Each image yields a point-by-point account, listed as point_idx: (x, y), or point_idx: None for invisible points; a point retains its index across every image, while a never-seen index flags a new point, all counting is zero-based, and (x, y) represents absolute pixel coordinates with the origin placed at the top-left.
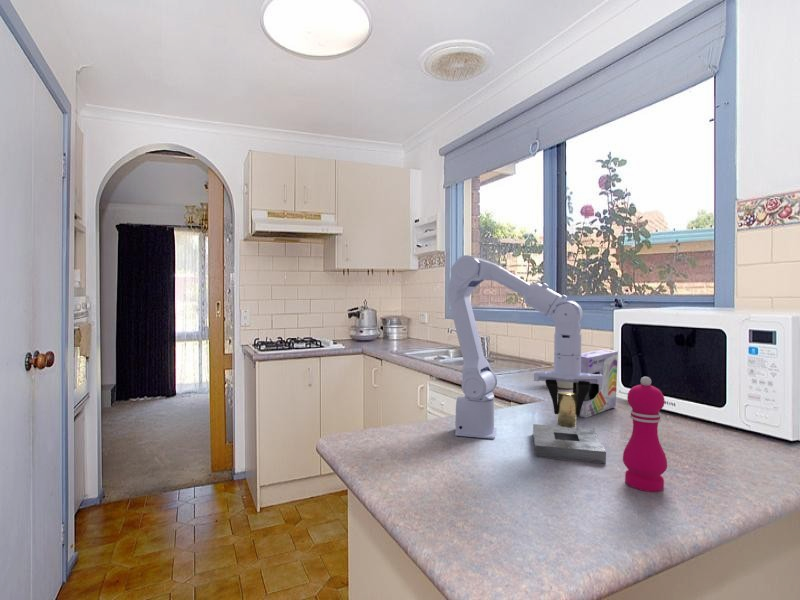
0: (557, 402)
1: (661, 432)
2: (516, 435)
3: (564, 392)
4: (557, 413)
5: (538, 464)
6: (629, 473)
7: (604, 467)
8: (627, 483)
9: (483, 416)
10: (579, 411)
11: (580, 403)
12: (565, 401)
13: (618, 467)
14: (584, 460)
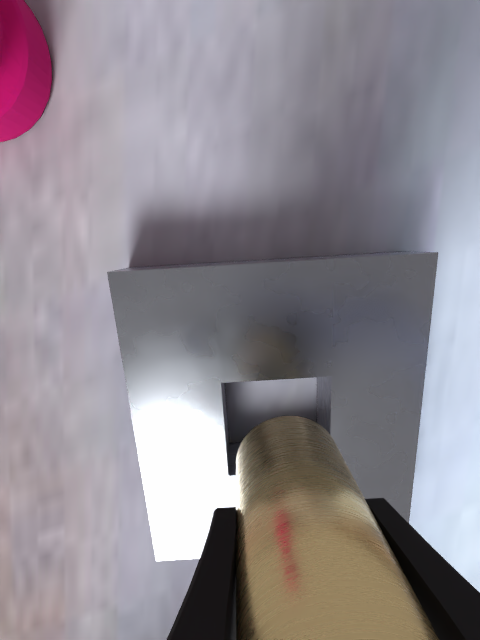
0: (430, 590)
1: None
2: (449, 475)
3: None
4: (370, 502)
5: (400, 163)
6: (1, 7)
7: (134, 223)
8: (41, 30)
9: None
10: (214, 533)
11: (200, 609)
12: (369, 591)
13: (81, 242)
14: (209, 263)
